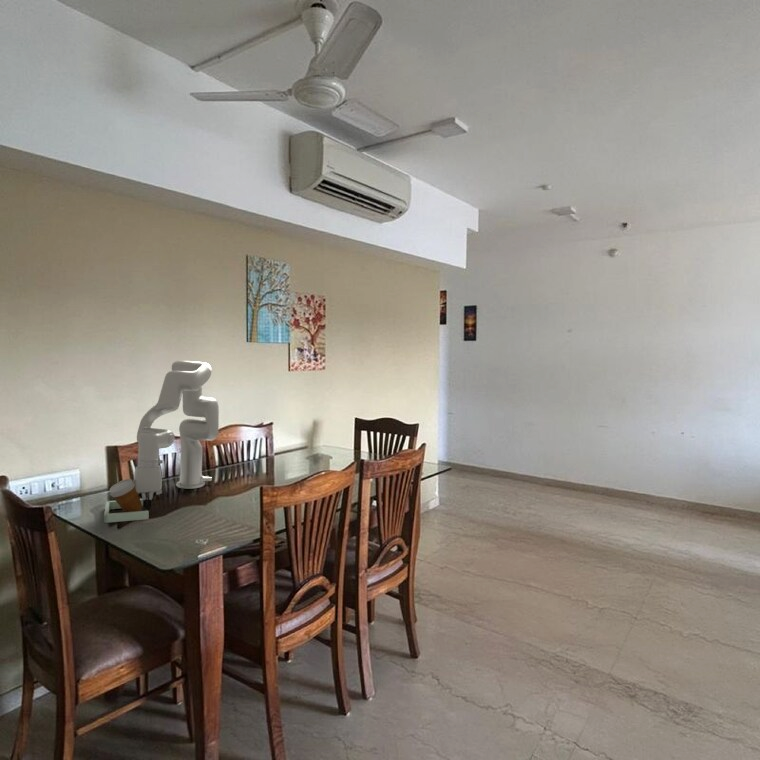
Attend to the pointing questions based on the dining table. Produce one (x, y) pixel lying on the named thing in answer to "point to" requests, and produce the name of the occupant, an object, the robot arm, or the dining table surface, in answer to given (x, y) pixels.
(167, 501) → the dining table surface
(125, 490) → the disposable coffee cup
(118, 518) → the bay
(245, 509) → the dining table surface
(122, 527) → the dining table surface
